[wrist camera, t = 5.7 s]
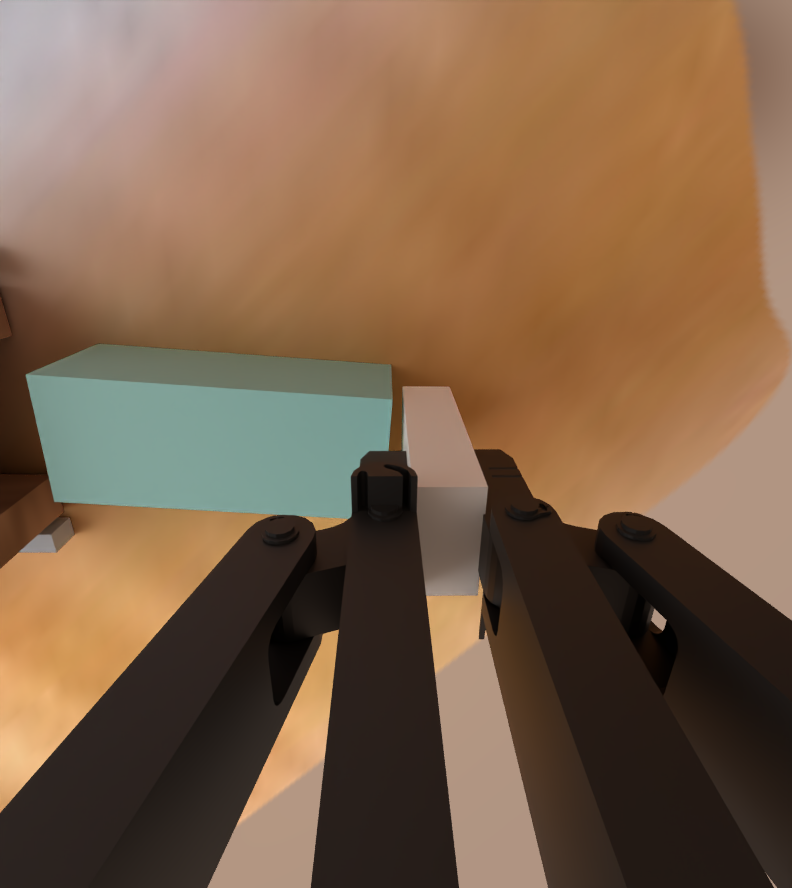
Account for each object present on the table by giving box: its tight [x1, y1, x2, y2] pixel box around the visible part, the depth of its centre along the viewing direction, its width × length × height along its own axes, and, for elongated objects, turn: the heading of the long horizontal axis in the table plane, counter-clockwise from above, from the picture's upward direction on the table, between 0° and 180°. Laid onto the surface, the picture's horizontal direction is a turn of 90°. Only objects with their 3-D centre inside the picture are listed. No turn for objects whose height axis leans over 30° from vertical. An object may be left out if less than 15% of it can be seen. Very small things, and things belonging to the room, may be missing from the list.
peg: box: [25, 344, 393, 519], centre depth 17 cm, size 4×10×4 cm, turn 86°
